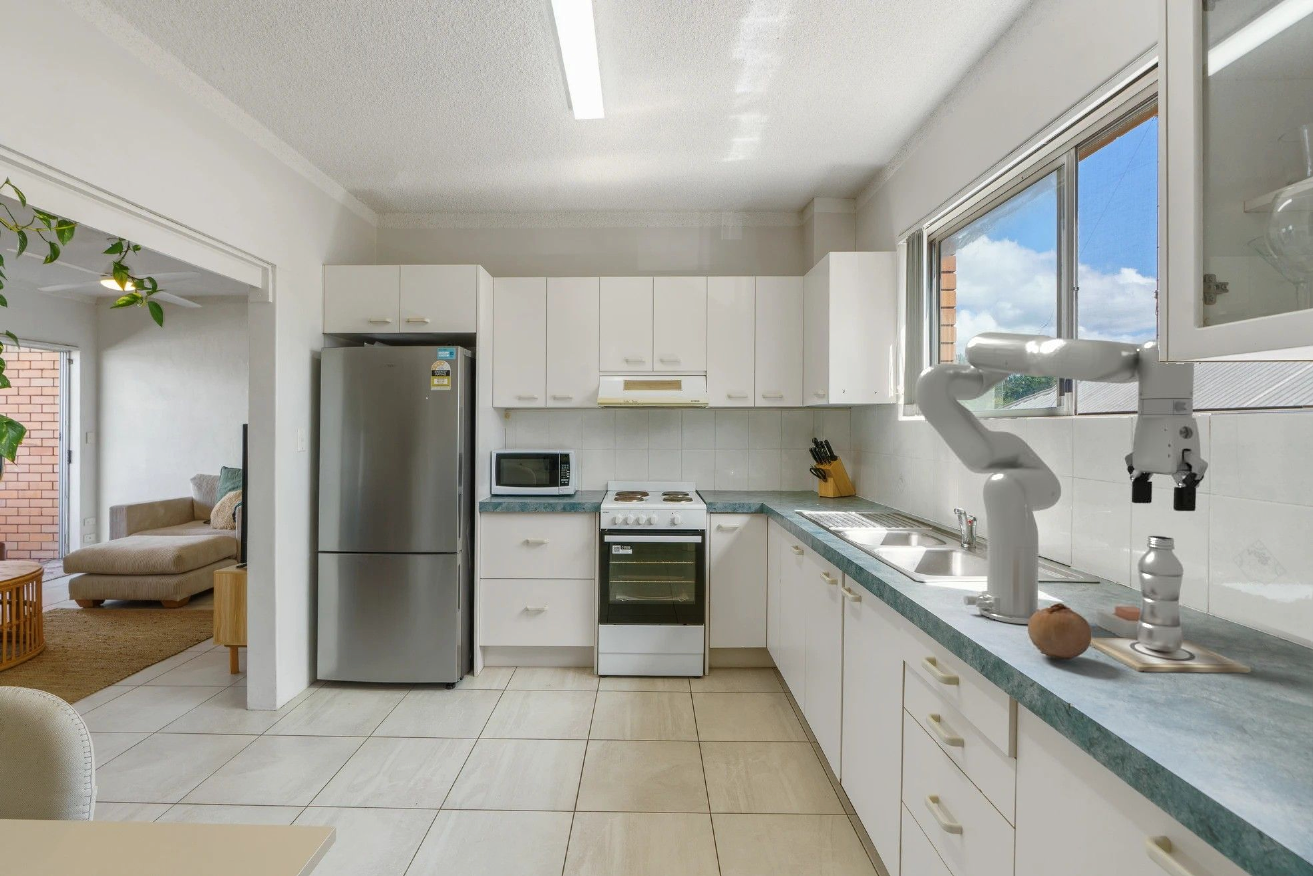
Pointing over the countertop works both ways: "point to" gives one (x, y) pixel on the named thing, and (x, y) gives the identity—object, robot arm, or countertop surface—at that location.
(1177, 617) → the plastic bottle
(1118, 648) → the board
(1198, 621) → the countertop surface
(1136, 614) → the button
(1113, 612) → the button housing
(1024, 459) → the robot arm
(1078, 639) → the onion
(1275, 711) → the countertop surface
